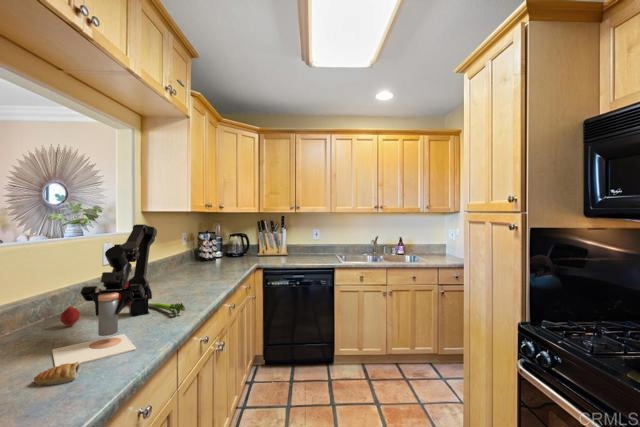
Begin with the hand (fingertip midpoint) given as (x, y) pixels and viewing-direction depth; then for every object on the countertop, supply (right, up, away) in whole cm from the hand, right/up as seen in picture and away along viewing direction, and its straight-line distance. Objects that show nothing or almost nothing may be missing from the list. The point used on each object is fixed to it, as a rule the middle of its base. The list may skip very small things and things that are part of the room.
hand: (106, 314), depth 107 cm
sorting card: (-1, -10, -5) cm, 11 cm away
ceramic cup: (-22, -10, +48) cm, 54 cm away
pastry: (+3, -10, -23) cm, 25 cm away
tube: (0, -7, +1) cm, 7 cm away
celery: (0, -10, +36) cm, 38 cm away
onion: (-25, -10, +16) cm, 32 cm away
